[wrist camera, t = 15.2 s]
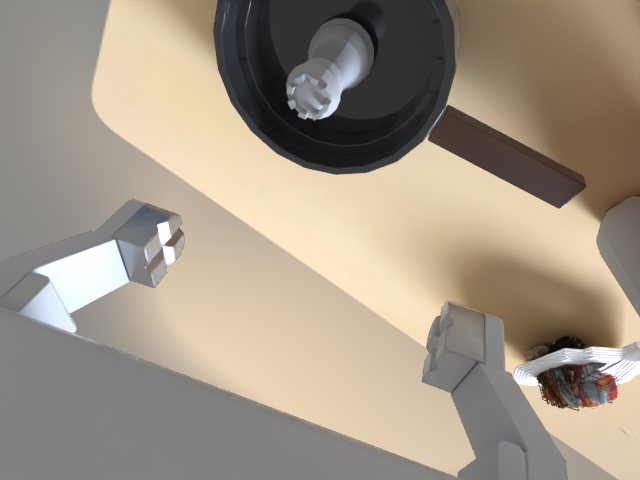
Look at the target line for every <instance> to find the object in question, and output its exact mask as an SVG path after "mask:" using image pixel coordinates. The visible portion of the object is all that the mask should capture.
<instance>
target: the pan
mask: <svg viewBox="0 0 640 480" xmlns="http://www.w3.org/2000/svg"><path fill="white" fill-rule="evenodd" d="M335 18H339V19H350V20H352V21H354V22H356V23H358V24H360V25H361V26H362V27H363V28H364V30H365V31H366V32H367V33H368V34H369V35H370V38H371V41H372V44H373V47H374V62H373V65H372V67H371V69H370V71H369V74H368V75H367V76H366V77H365V78H364V79H363V80H362V81H361V82H360V83H359V84H358V85H357V86H356V87H353V88H350V89H347V90H344V91H342V93H341V95H340V102H339V104H338V107H337V109H336V110H335V111H334V112H333V113H332V114H331V115H330V116H328V117H325V118H322V119H316V120H313V118H308V117H307V118H306V119H303V118H301V117H299V116H298V114H299V112H298V111H297V110H296V109H295V108H293V109H292V110H291V108H290V106H289V104H288V100H289V98H288V96H287V88H286V83H287V80H288V76H289V74H290V73H291V72H292V71H293V69H294V68H295V67H296V66H299V65H301V64H304V63H305V62H306V61H308V60H309V59H308V50H309V47H310V43H311V40H312V38H313V37H314V35H315V33H316V32H317V31H318V30H319V29H320V27H321V26H322V25H323V24H324V23H326V22H328V21H331V20H333V19H335ZM213 31H214V40H215V48H216V56H217V64H218V70H219V73H220V76H221V78H222V81H223V83H224V86H225V88H226V91H227V93H228V96H229V98H230V101H231V103H232V105H233V106H234V107H235V109H236V110H237V112H238V113H239V114H240V116H241V117H242V119H243V120H244V122H245V123H246V124H247V126H248V127H249V129H250V130H251V131H252V132H253V133H254V134H255V135H256V136H257V137H259V138H260V139H261V140H262V141H263V142H264V143H265V144H267V145H268V146H269V147H270V148H271V149H272V150H273V151H275V152H276V153H277V154H279V155H281V156H283V157H285V158H287V159H289V160H291V161H292V162H294V163H296V164H298V165H300V166H302V167H304V168H308V169H312V170H317V171H322V172H326V173H331V174H336V175H337V174H354V173H366V172H370V171H373V170H376V169H378V168H381V167H384V166H386V165H389V164H392V163H395V162H397V161H398V160H400V159H401V158H402V157H403V156H405V155H406V154H407V153H409V152H410V151H411V150H412V149H414V148H415V147H416V146H418V145H419V144H420V143H421V142H423V140H424V139H425V138H426V137H427V135H428V134H429V132H430V131H431V129H432V128H433V126H434V125H435V123H436V122H437V120H438V119H439V117H440V116H441V114H442V113H443V111H444V109H445V107H446V103H447V100H448V96H449V92H450V89H451V85H452V82H453V78H454V75H455V71H456V65H457V59H458V53H459V21H458V4H457V2H456V0H218V3H217V10H216V16H215V22H214V29H213Z"/></svg>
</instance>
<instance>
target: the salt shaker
mask: <svg viewBox="0 0 640 480" xmlns="http://www.w3.org/2000/svg"><path fill="white" fill-rule="evenodd" d="M596 242H597V246H598V249H599V252H600V255H601V256H602V258H603V259H604V261H605V263H606V264H607V266H608V267H609V269H610V270H611V272H612V274H613V275H614V277H615V278H616V280H617V282H618V283H619V285H620V286H621V288H622V290H623V291H624V293H625V294H626V296H627V298H628V299H629V301H630V302H631V304H632V305H633V307H634V309H635V310H636V312H637V313H638V315H639V317H640V196H631V197H629V198H627V199H626V200H624V201H623V202H621V203H619V204H618V205H616V206H614V207H613V208H611V209H610V210H608V211H607V213H606V215H605V217H604V219H603V221H602V223H601V226H600V229H599V232H598V235H597V241H596Z"/></svg>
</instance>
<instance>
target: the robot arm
mask: <svg viewBox="0 0 640 480" xmlns="http://www.w3.org/2000/svg"><path fill="white" fill-rule="evenodd" d="M181 225H182V219H181V216H180V215H178V214H176V213H173V212H170V211H168V210H165V209H162V208H159V207H156V206H153V205H151V204H147V203H144V202H141V201H139V200H135V199H132V200H129V201H127V202H126V203H125V204H124V205H123V206H122V207H121V208H120V209H119V210H118V211H117V212H116V213H114V214H113V215H112V216H111V217H110V218H109V219H108V220H107V221H106V222H105V223H104V224H103V225H102V226H101V227H100V228H99V229H97V231H95V232H93V231H88V232H85V233H82V234H79V235H76V236H73V237H70V238H67V239H64V240H61V241H58V242H55V243H52V244H49V245H46V246H43V247H40V248H37V249H34V250H31V251H28V252H25V253H22V254H19V255H16V256H13V257H10V258H7V259H4V260H3V261H2V262H1V263H0V480H568V476H567V468H566V461H565V460H564V458H563V456H562V455H561V453H560V452H559V450H558V448H557V447H556V445H555V444H554V442H553V440H552V439H551V437H550V436H549V434H548V432H547V431H546V429H545V427H544V426H543V424H542V423H541V421H540V419H539V418H538V416H537V415H536V413H535V411H534V410H533V408H532V407H531V405H530V403H529V402H528V400H527V399H526V397H525V395H524V394H523V392H522V390H521V389H520V387H519V386H518V384H517V382H516V381H515V379H514V378H513V376H512V374H511V373H509V372H506V371H505V350H504V322H503V320H502V318H500V317H497V316H494V315H491V314H487V313H484V312H482V311H479V310H476V309H472V308H469V307H466V306H463V305H459V304H456V303H453V302H450V301H446V302H445V303H444V305H443V306H442V308H441V316H438V317H436V318H435V320H434V322H433V323H432V326H431V329H430V331H429V335H428V339H427V346H426V348H427V350H428V352H429V355H428V356H427V358H426V359H425V361H424V369H423V378H422V382H423V383H426V384H429V385H431V386H434V387H437V388H439V389H442V390H445V391H447V392H450V393H452V394H451V396H452V399H453V401H454V403H455V406H456V409H457V411H458V413H459V416H460V419H461V421H462V424H463V426H464V429H465V431H466V434H467V436H468V439H469V441H470V443H471V446H472V449H473V451H474V454H475V456H476V459H475V460H474V461H473V462H471V463H470V464H468V465H467V466H466V467H464V468H463V469H462V470H460V471H459V472H458V477H455V476H453V475H450V474H447V473H445V472H442V471H439V470H437V469H434V468H431V467H429V466H426V465H423V464H421V463H418V462H415V461H412V460H410V459H407V458H405V457H402V456H399V455H397V454H394V453H391V452H389V451H386V450H383V449H381V448H378V447H375V446H373V445H370V444H367V443H365V442H362V441H359V440H357V439H354V438H351V437H349V436H346V435H343V434H341V433H338V432H336V431H333V430H330V429H328V428H325V427H322V426H320V425H317V424H314V423H311V422H309V421H306V420H304V419H301V418H298V417H296V416H293V415H290V414H288V413H285V412H282V411H280V410H277V409H274V408H272V407H269V406H266V405H264V404H261V403H258V402H256V401H253V400H250V399H248V398H245V397H242V396H240V395H237V394H234V393H231V392H229V391H226V390H223V389H221V388H218V387H215V386H213V385H210V384H208V383H205V382H202V381H200V380H197V379H194V378H191V377H189V376H186V375H184V374H181V373H178V372H176V371H173V370H170V369H168V368H165V367H162V366H160V365H157V364H154V363H152V362H149V361H146V360H143V359H141V358H138V357H136V356H133V355H130V354H128V353H125V352H122V351H119V350H117V349H114V348H111V347H109V346H106V345H104V344H101V343H98V342H96V341H93V340H90V339H88V338H85V337H82V336H80V335H77V334H74V332H75V331H76V324H75V323H74V321H73V319H72V317H71V316H70V313H71V312H73V311H75V310H77V309H79V308H81V307H82V306H85V305H87V304H88V303H90V302H92V301H94V300H96V299H98V298H100V297H102V296H103V295H105V294H107V293H109V292H111V291H113V290H115V289H116V288H118V287H120V286H122V285H124V284H126V283H128V282H129V280H131V281H134V282H137V283H140V284H143V285H146V286H149V287H152V288H155V287H156V286H157V285H158V283H159V282H160V281H161V280H162V278H163V277H164V276H165V275H166V273H167V265H169V264H172V263H174V262H176V260H177V259H178V258H179V256H180V255H181V253H182V250H183V248H184V242H185V237H184V233H183V232H182V231H181V230H180V228H179V227H180V226H181Z"/></svg>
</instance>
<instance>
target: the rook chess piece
mask: <svg viewBox="0 0 640 480" xmlns="http://www.w3.org/2000/svg"><path fill="white" fill-rule="evenodd" d="M308 59H309V60H308V61H306V62H305V63H304V64H301V65H299V66H296V67H295V68H294V69H293V71H292V72H291V73H290V74H289V76H288V80H287V83H286V88H287V96H288V98H289V100H288V104H289V106H290V108H291V110H292V109H293V108H295V109H296V110H297V111H298V112H299V114H298V116H299V117H301V118H303V119H306V118H307V117H308V118H313V120H316V119H322V118H325V117H328V116H330V115H331V114H332V113H333V112H334V111H335V110H336V109H337V107H338V104H339V102H340V95H341V93H342V91H344V90H347V89H350V88H353V87H356V86H357V85H358V84H359V83H360V82H361V81H362V80H363V79H364V78H365V77H366V76H367V75H368V74H369V71H370V69H371V67H372V65H373V62H374V47H373V44H372V41H371V38H370V35H369V34H368V33H367V32H366V31H365V30H364V28H363V27H362V26H361V25H360V24H358V23H356V22H354V21H352V20H350V19H339V18H335V19H333V20H331V21H328V22H326V23H324V24H323V25H322V26H321V27H320V29H319V30H318V31H317V32H316V33H315V35H314V37H313V38H312V40H311V43H310V47H309V50H308Z"/></svg>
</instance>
